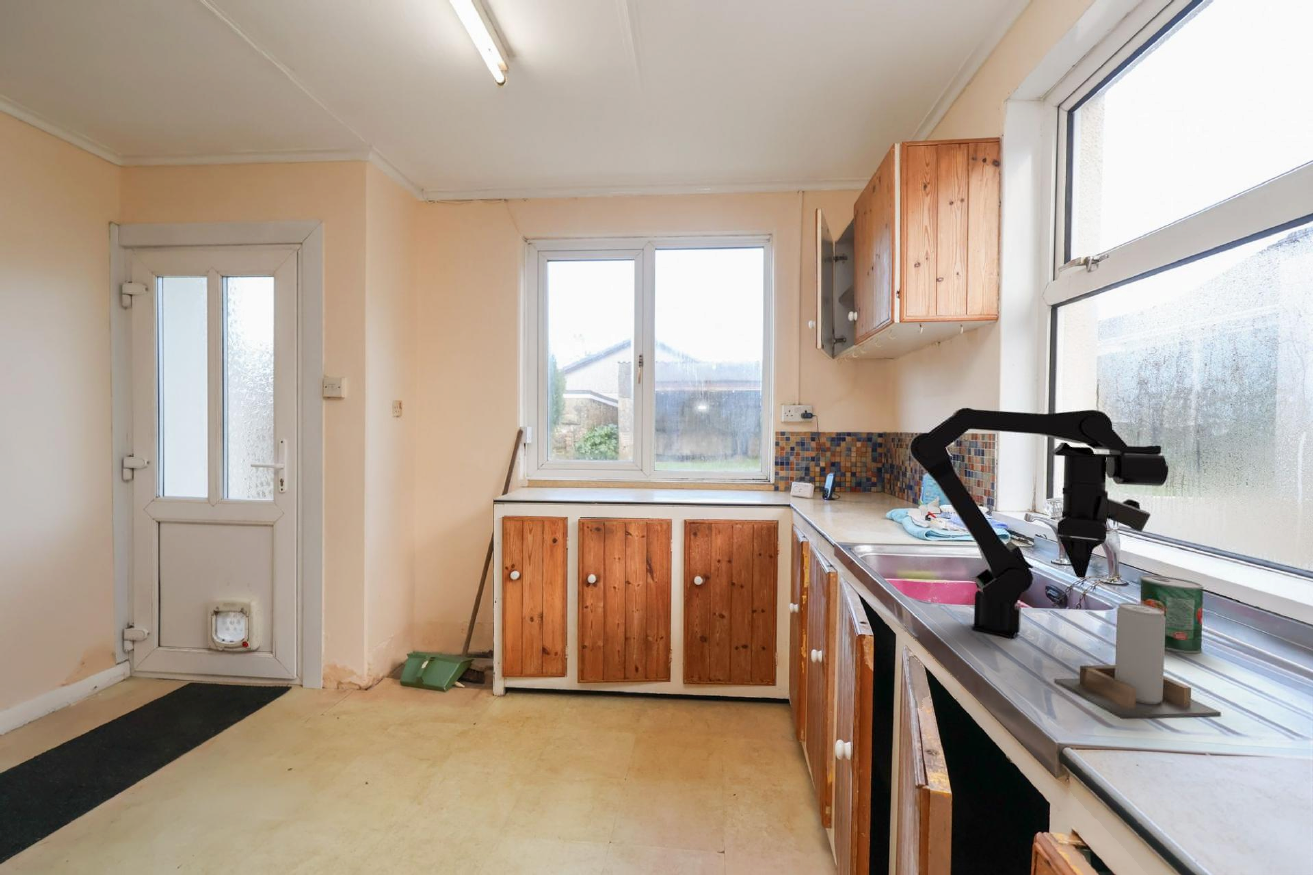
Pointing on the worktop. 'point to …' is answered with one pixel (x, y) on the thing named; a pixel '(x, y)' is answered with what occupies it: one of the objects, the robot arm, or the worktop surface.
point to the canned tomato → (1176, 610)
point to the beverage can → (1141, 650)
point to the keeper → (1133, 695)
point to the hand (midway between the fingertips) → (1081, 572)
